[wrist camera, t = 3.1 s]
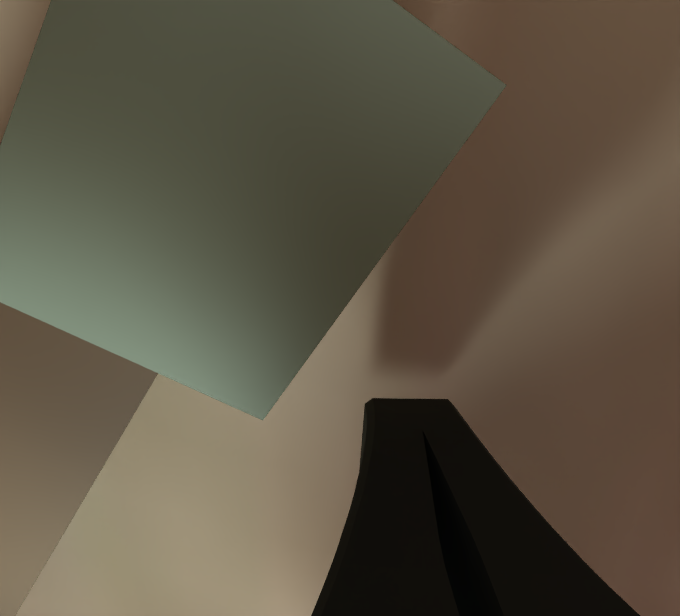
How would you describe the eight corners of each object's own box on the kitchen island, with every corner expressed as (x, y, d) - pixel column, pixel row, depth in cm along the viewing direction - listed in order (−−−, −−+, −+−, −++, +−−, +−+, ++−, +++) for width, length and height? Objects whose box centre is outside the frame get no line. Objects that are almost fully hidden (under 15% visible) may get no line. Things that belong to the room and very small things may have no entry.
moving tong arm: (11, 691, 15) (-68, 874, 12) (-123, 656, 14) (-247, 846, 11) (431, 42, 8) (506, 85, 5) (211, -120, 7) (121, -200, 4)
